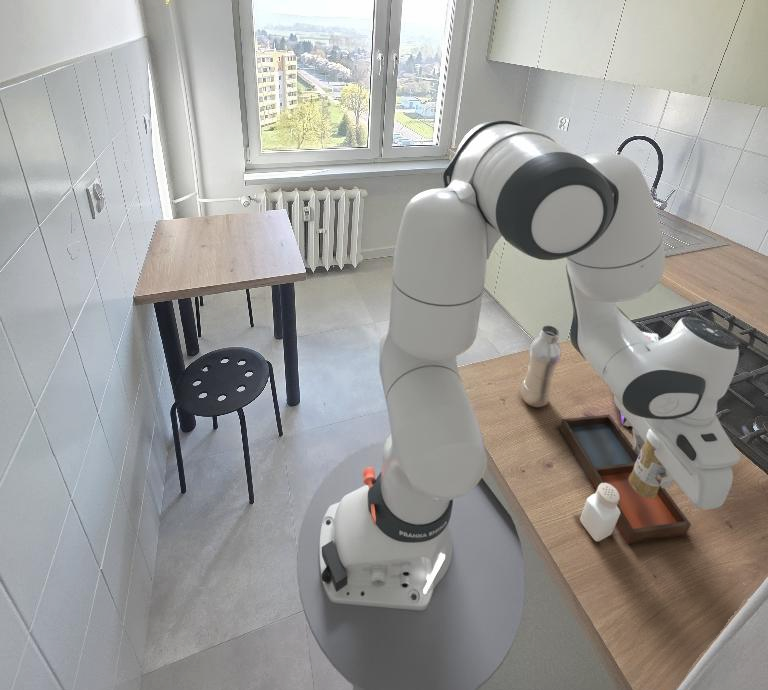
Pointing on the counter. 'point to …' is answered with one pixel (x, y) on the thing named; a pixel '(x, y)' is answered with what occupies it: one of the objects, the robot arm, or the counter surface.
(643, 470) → the sprinkles bottle
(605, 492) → the pepper shaker
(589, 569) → the counter surface
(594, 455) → the tray
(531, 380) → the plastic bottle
